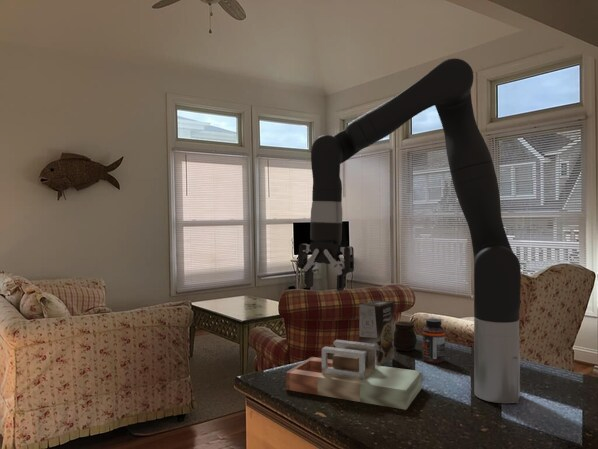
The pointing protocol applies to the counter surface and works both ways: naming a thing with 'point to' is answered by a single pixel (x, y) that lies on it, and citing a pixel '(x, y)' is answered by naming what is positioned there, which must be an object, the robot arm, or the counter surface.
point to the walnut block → (346, 362)
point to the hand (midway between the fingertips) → (324, 288)
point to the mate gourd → (404, 336)
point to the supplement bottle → (433, 341)
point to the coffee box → (378, 328)
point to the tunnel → (351, 350)
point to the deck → (357, 384)
